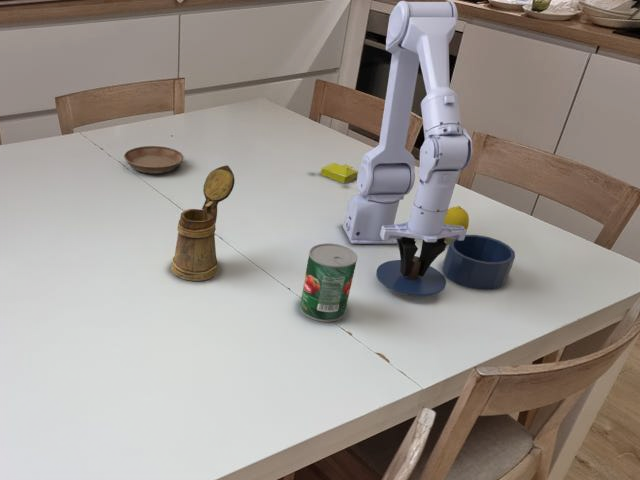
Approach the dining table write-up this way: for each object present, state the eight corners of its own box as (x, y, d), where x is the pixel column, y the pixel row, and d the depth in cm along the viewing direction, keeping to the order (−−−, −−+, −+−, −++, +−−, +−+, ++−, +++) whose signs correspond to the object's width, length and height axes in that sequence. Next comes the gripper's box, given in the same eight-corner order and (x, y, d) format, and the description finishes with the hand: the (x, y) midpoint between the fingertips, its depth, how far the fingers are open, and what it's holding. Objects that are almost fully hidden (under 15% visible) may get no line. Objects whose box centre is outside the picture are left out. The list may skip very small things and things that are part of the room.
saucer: (147, 151, 178) (147, 141, 176) (194, 164, 171) (194, 153, 169) (112, 168, 168) (111, 157, 166) (160, 182, 161) (160, 171, 160)
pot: (455, 290, 124) (464, 263, 121) (433, 259, 133) (440, 234, 130) (515, 289, 125) (526, 263, 121) (489, 259, 134) (498, 234, 130)
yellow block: (312, 174, 167) (313, 163, 165) (334, 165, 172) (336, 154, 170) (345, 186, 161) (347, 175, 159) (367, 177, 166) (369, 165, 164)
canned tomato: (291, 302, 120) (299, 247, 113) (328, 294, 122) (338, 239, 116) (316, 326, 114) (327, 269, 107) (354, 316, 117) (367, 260, 110)
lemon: (464, 250, 137) (475, 213, 132) (435, 247, 137) (446, 210, 133) (460, 237, 141) (471, 202, 136) (432, 234, 142) (442, 199, 137)
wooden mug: (240, 259, 132) (249, 171, 121) (199, 286, 124) (204, 194, 113) (203, 245, 137) (208, 158, 126) (161, 270, 128) (163, 180, 117)
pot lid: (386, 299, 120) (392, 276, 117) (367, 264, 129) (372, 243, 126) (455, 299, 120) (462, 276, 117) (430, 264, 130) (437, 242, 127)
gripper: (396, 215, 112) (378, 285, 120) (481, 215, 113) (458, 284, 121) (383, 197, 118) (368, 265, 126) (465, 197, 118) (444, 265, 126)
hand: (411, 273), depth 124 cm, fingers closed on pot lid, 2 cm apart
